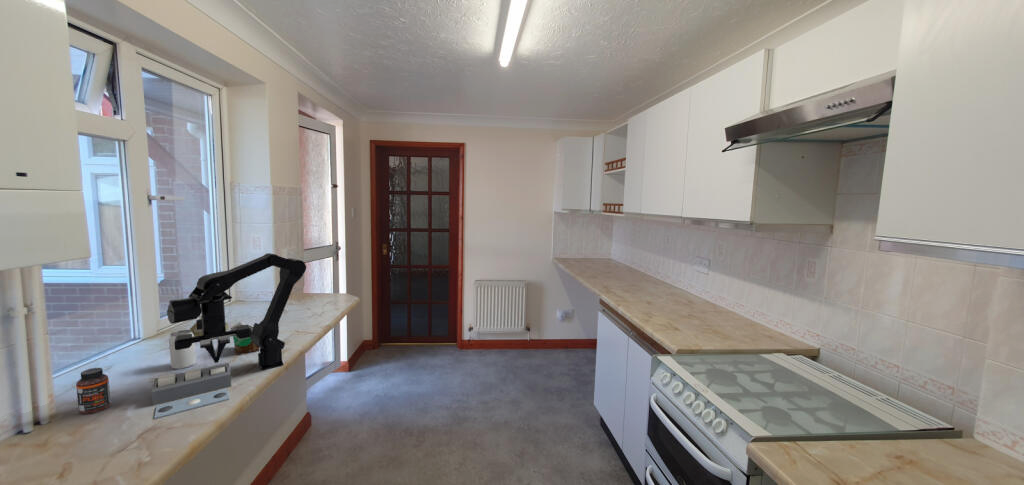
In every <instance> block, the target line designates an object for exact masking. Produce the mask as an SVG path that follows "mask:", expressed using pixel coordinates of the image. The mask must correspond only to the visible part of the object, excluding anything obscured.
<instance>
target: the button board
mask: <svg viewBox="0 0 1024 485" xmlns="http://www.w3.org/2000/svg"><path fill="white" fill-rule="evenodd" d="M221 367H225V372H223V373H219V374H214V375H211V370H212V369H216V368H221ZM231 373H232V372H231V369H230V363H229V362H226V363H222V364H217V365H213V366H207V367H203V368H201V378H196V379H192V380H187V381H185V371H184V372H179V373H178V372H177V373H174V374H175V379H176V380H175V383H174V384H169V385H165V386H160V387H158V378H159V377H156V378H154V380H153V384H152V389H151V392H150V393H151V402H152V404H151V405H152V406H156V405H157V406H158V405H159V404H160V405H162V404H166V403H170V402H172V401H173V402H174V401H178V400H182V399H186V398H190V397H194V396H198V395H203V394H207V393H211V392H215V391H219V390H223V389H227V388H229V387H232V374H231Z"/></svg>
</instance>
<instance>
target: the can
mask: <svg viewBox="0 0 1024 485" xmlns="http://www.w3.org/2000/svg"><path fill="white" fill-rule="evenodd" d="M185 334H192V337H194V335H193V333H192V331H191V330H190V329H183V330H182V329H181V330H176V331H173V332H171V333H170V334H169V335H170V336H169V338H168V344H169V354H170V355H169V356H170V365H171V369H174V370H182V369H187V368H191V367H192V366H194V365H195V364H196V363H197V360H196V358H197V357H196V348H195V346H196V345H195V344H196V343H192V345H191V346H190V347H189V348H186V349H180V350H175V338H176V337H177V336H179V335H185Z"/></svg>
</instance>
